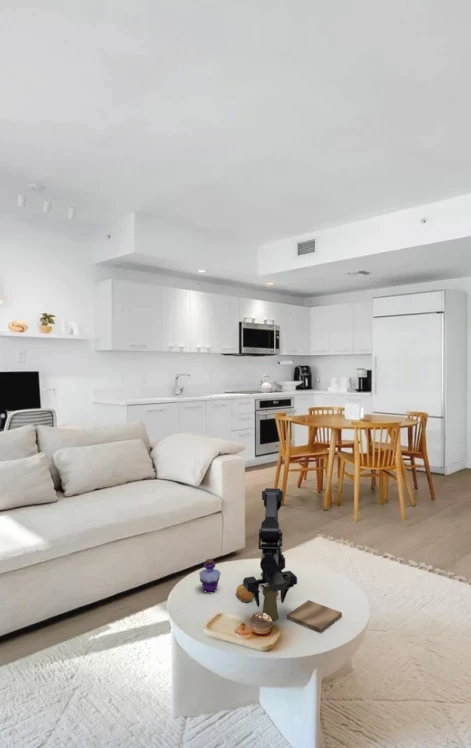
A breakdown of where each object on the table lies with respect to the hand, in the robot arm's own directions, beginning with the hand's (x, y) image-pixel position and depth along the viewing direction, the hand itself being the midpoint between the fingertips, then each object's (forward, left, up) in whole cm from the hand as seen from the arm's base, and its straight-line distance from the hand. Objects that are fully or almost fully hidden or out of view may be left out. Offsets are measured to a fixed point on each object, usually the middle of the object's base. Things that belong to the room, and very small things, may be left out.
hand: (270, 604), depth 178 cm
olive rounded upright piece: (0, 0, -5) cm, 5 cm away
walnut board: (+12, +10, -5) cm, 16 cm away
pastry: (-17, +6, -5) cm, 19 cm away
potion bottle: (-31, +1, -5) cm, 31 cm away
